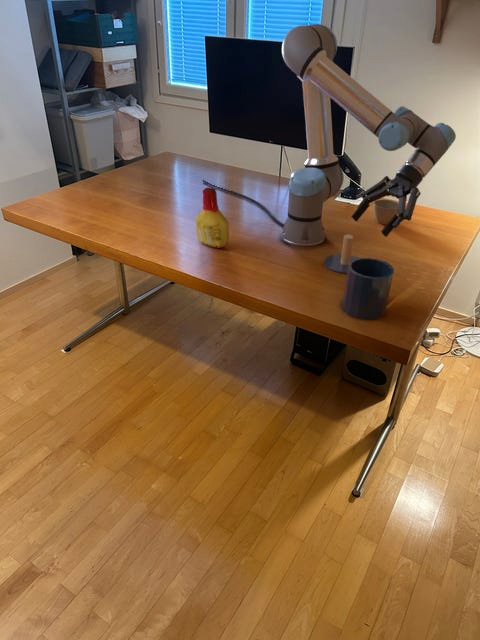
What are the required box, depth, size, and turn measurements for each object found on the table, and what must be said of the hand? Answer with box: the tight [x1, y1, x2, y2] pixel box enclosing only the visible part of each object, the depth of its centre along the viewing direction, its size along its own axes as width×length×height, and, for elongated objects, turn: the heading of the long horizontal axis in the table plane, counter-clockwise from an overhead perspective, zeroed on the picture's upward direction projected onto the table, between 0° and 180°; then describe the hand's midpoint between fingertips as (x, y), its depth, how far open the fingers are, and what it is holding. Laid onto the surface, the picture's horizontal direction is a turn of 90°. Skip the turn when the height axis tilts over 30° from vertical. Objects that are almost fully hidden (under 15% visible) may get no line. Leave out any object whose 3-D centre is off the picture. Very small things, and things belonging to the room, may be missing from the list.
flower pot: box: [373, 199, 399, 225], centre depth 181 cm, size 10×10×7 cm
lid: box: [324, 234, 359, 275], centre depth 150 cm, size 13×13×10 cm
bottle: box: [195, 187, 230, 249], centre depth 159 cm, size 12×6×20 cm, turn 60°
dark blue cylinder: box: [341, 257, 395, 321], centre depth 129 cm, size 12×12×12 cm
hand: (368, 226), depth 149 cm, fingers open, 13 cm apart
